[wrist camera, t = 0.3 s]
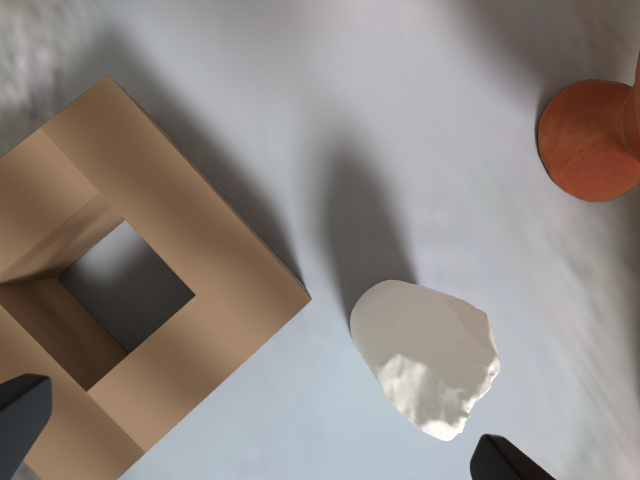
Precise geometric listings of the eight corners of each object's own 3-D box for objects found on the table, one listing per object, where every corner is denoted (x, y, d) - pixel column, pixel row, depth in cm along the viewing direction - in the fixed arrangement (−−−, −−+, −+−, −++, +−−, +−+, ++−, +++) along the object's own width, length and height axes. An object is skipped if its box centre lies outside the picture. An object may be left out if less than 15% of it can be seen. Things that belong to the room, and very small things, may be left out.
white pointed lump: (555, 512, 11) (395, 481, 11) (415, 374, 23) (336, 355, 22) (594, 335, 11) (440, 295, 11) (436, 288, 23) (358, 268, 23)
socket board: (126, 451, 21) (77, 515, 16) (-49, 273, 20) (-158, 282, 15) (305, 287, 22) (312, 299, 17) (148, 114, 21) (107, 74, 16)
